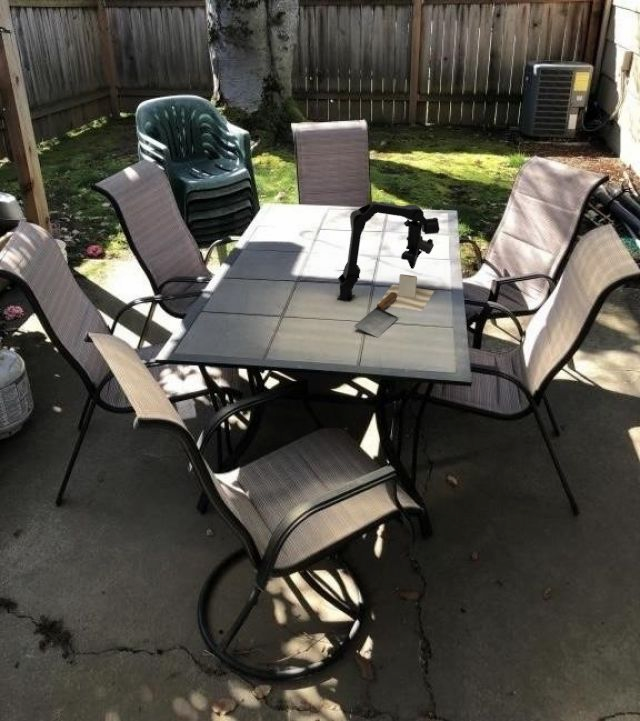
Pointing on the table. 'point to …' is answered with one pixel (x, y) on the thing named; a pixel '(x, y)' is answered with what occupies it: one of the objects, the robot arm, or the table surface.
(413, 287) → the tile
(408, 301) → the board
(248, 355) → the table surface
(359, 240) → the robot arm
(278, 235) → the table surface
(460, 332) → the table surface
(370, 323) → the meat cleaver
